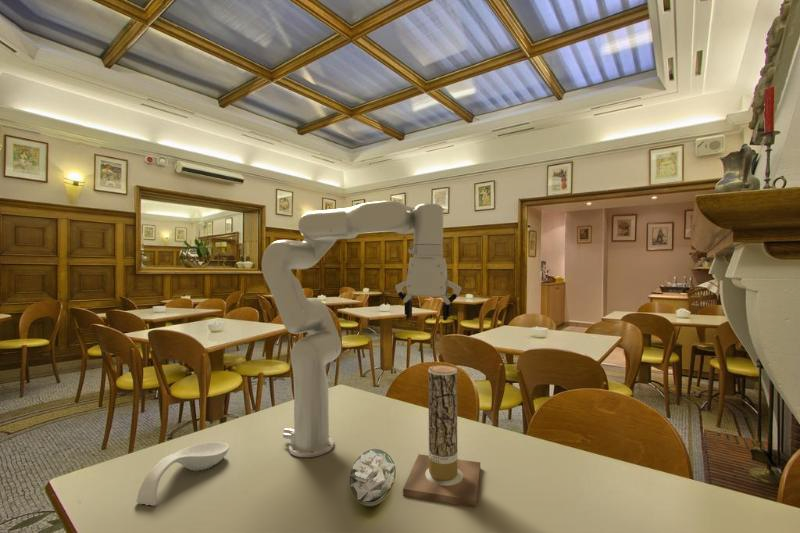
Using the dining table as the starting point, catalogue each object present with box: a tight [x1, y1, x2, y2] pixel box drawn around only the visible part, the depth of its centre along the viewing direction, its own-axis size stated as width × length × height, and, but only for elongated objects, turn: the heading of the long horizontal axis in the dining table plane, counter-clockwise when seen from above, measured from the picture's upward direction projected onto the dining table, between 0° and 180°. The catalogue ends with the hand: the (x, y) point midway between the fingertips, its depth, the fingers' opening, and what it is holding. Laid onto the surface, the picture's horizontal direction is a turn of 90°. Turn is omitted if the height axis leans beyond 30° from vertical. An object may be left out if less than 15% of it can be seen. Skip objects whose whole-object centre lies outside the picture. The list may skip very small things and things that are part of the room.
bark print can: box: [428, 365, 458, 481], centre depth 88 cm, size 7×7×25 cm
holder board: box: [402, 453, 481, 508], centre depth 88 cm, size 16×16×2 cm
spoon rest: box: [136, 441, 230, 507], centre depth 91 cm, size 24×12×7 cm, turn 170°
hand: (427, 318), depth 95 cm, fingers open, 9 cm apart
